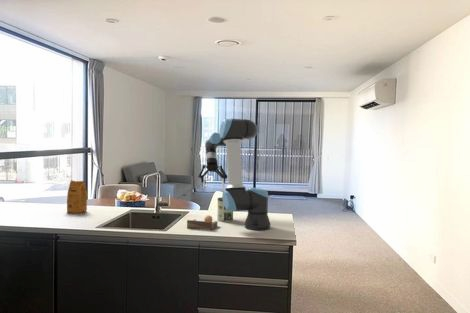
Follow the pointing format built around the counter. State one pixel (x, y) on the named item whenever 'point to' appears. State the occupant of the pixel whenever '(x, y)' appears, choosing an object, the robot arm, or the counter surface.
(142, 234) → the counter surface
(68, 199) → the coffee package
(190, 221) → the brown wooden tray
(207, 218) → the ball
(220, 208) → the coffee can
